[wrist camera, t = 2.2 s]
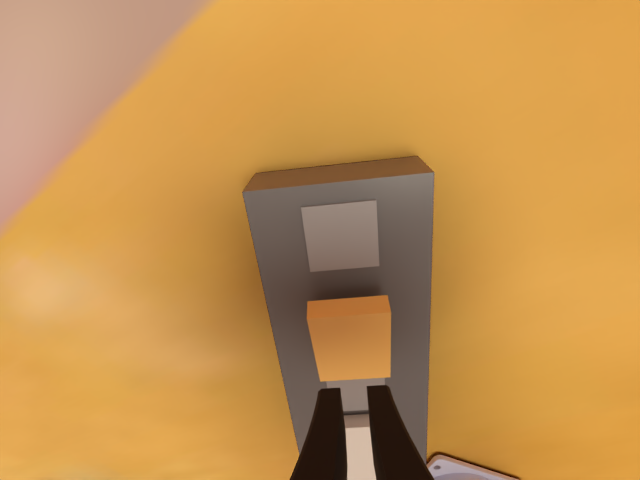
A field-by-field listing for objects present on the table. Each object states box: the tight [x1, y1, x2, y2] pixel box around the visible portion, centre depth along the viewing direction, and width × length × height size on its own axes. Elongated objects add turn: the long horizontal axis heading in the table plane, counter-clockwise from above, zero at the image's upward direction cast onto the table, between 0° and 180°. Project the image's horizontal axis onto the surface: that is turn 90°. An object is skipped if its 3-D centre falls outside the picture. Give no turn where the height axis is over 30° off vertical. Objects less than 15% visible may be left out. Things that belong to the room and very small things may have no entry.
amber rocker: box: [307, 295, 391, 382], centre depth 17 cm, size 5×4×1 cm
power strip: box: [242, 156, 434, 464], centre depth 20 cm, size 20×8×3 cm, turn 6°
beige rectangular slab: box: [344, 414, 376, 480], centre depth 21 cm, size 5×4×1 cm
